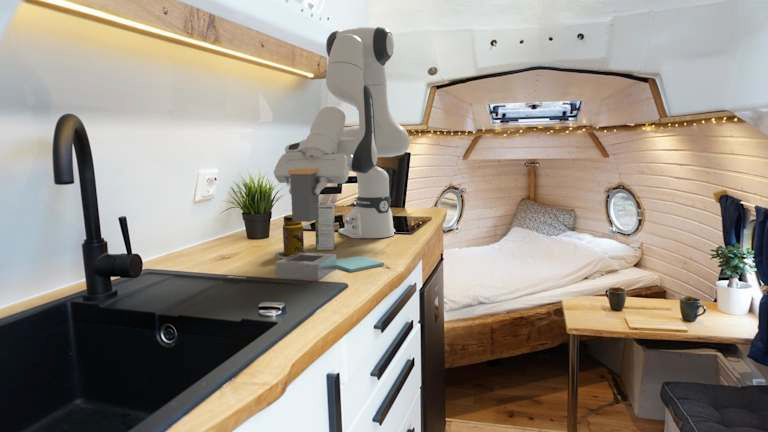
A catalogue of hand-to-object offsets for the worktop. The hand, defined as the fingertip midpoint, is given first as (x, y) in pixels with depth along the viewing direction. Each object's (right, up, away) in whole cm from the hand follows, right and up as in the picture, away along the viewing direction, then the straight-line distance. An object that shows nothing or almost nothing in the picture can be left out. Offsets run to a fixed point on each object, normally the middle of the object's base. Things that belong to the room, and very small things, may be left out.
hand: (303, 193), depth 130 cm
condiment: (-8, -18, +25) cm, 32 cm away
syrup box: (+2, -16, +34) cm, 38 cm away
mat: (+13, -19, +11) cm, 26 cm away
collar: (0, -21, +4) cm, 21 cm away
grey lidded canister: (0, -7, +2) cm, 7 cm away
